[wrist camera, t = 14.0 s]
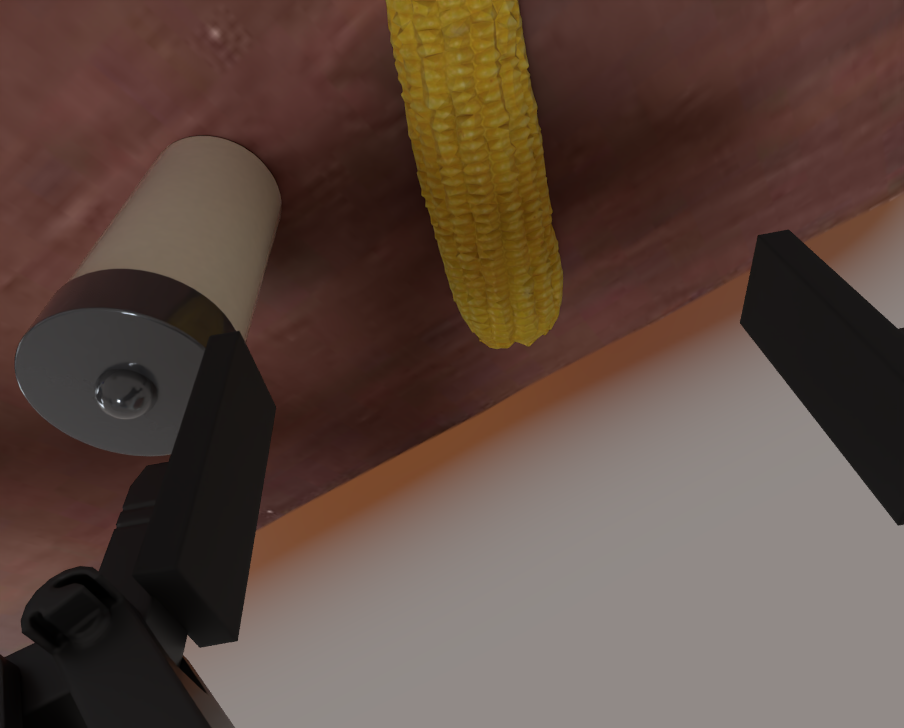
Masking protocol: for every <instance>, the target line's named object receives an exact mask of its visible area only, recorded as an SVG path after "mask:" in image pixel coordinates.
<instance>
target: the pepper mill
mask: <svg viewBox="0 0 904 728" xmlns="http://www.w3.org/2000/svg"><path fill="white" fill-rule="evenodd" d="M280 216H281V196H280V192H279V189H278V186H277V184H276V181H275V179H274V177H273V176H272V174H271V172H270V171H269V170H268V168H267V167H266V166H265V165H264V164H263V163H262V161H261V160H260V159H259V158H257V157H256V156H255V155H254V154H253V153H251V152H250V151H248V150H247V149H245V148H244V147H242V146H240V145H238V144H236V143H234V142H231V141H229V140H226V139H222V138H218V137H212V136H194V137H188V138H184V139H181V140H179V141H176V142H174V143H173V144H171V145H169V146H168V147H167V148H166V149H165V150H163V151H162V152H161V154H160V155H159V156H158V157H157V159H156V160H155V162H154V163H153V164H152V166H151V167H150V168H149V170H148V171H147V173H146V174H145V175H144V177H143V178H142V180H141V181H140V182H139V184H138V185H137V186H136V188H135V189H134V191H133V192H132V193H131V195H130V196H129V198H128V199H127V200H126V202H125V203H124V204H123V206H122V207H121V209H120V210H119V211H118V213H117V214H116V215H115V217H114V218H113V220H112V221H111V222H110V224H109V225H108V227H107V228H106V229H105V231H104V232H103V233H102V235H101V236H100V238H99V239H98V240H97V242H96V243H95V245H94V246H93V247H92V249H91V250H90V251H89V253H88V254H87V256H86V257H85V258H84V260H83V261H82V263H81V264H80V265H79V267H78V268H77V269H76V271H75V272H74V274H73V275H72V276H71V278H70V279H69V281H68V282H67V283H66V284H65V285H63V286H62V287H61V288H60V289H59V290H57V292H56V293H55V294H54V295H53V297H52V298H51V299H50V300H49V302H48V303H47V305H46V306H45V307H44V309H43V310H42V311H41V313H40V314H39V315H38V317H37V318H36V320H35V321H34V322H33V324H32V325H31V326H30V328H29V329H28V330H27V332H26V333H25V335H24V336H23V337H22V339H21V341H20V343H19V345H18V347H17V350H16V354H15V373H16V379H17V381H18V384H19V387H20V389H21V391H22V393H23V394H24V396H25V398H26V399H27V401H28V402H29V403H30V405H31V406H32V407H33V408H34V409H35V410H36V411H37V412H38V413H39V414H40V415H41V416H42V417H43V418H44V419H45V420H46V421H48V422H49V423H50V424H51V425H53V426H54V427H56V428H57V429H59V430H60V431H62V432H64V433H65V434H67V435H69V436H71V437H72V438H75V439H77V440H79V441H81V442H83V443H86V444H88V445H91V446H94V447H96V448H100V449H103V450H107V451H111V452H115V453H120V454H127V455H135V456H162V455H170V454H171V453H172V450H173V447H174V444H175V441H176V438H177V435H178V432H179V429H180V425H181V422H182V419H183V416H184V413H185V410H186V407H187V404H188V401H189V398H190V395H191V392H192V389H193V386H194V382H195V379H196V376H197V373H198V370H199V367H200V364H201V361H202V358H203V355H204V352H205V349H206V346H207V343H208V339H209V336H212V335H218V334H223V333H229V332H234V331H240V333H241V335H242V337H243V339H244V341H245V343H246V341H247V337H248V334H249V330H250V326H251V323H252V319H253V315H254V312H255V308H256V304H257V301H258V297H259V293H260V290H261V286H262V282H263V279H264V275H265V272H266V268H267V264H268V261H269V257H270V253H271V250H272V246H273V242H274V239H275V235H276V231H277V228H278V224H279V220H280Z"/></svg>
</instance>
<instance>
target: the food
mask: <svg viewBox="0 0 904 728" xmlns="http://www.w3.org/2000/svg"><path fill="white" fill-rule="evenodd" d="M385 1H386V4H387V17H388V28H389V31H390V32H391V36H390V42H391V44H392V47H393V55H394V58H395V59H396V60H395V63H394V64H395V66H396V69H397V71H398V80H399V81H400V83H401V85H402V89H403V92H402V94H401V96H402V98H403V100H404V102H405V111H406V118H407V124H408V135H409V137H410V139H411V143H412V150H413V153H414V157H415V161H416V165H417V169H418V172H417V176H418V179H419V183H420V186H421V195H422V196H423V197H424V198H425V207H427V208H428V211H429V214H430V217H431V224H432V225H433V228H434V232H435V239H436V240H437V243H438V247H439V251H440V254H441V257H442V260H443V263H444V268H445V273H446V275H447V278H448V281H449V286H450V289H451V291H452V293H453V300H454V301H455V302H456V304H457V306H458V309H459V311H460V313H461V316H462V317H463V319H464V320H465V321H466V323H467V324H468V326H469V328H470V329H471V331H472V332H475V334H476V335H477V336H478V337H479V341H481V342H483V343H484V344H486V345H487V346H489V347H490V348H494V349H499V348H509V347H510V346H511V345H512V344H513V343H514V342H519V343H521V344H524V345H526V346H530V345H531V344H533V343H534V342H535V341H536V340H537V339H538V338H539V337H540V336H541V335H546V334H547V332H548V331H549V330H551V328H552V327H553V325H554V323H555V321H556V320H557V318H558V316H559V309H560V305H561V300H562V289H563V270H562V268H561V260H560V255H559V253H558V249H559V248H558V241H557V239H556V236H555V232H554V229H553V227H552V224H551V222H552V217H551V214H552V213H553V211H552V208H551V204H550V199H549V193H548V192H549V189H548V185H547V177H546V170H545V163H544V156H543V153H544V150H543V147H542V142H543V140H542V135H541V133H540V131H541V129H540V127H539V125H538V118H537V108H538V107H537V104H536V101H535V98H534V95H533V91H532V87H531V81H530V78H529V77H530V74H529V72H528V70H527V68H528V67H529V64H528V60H527V55H526V47H525V43H524V40H525V39H524V37H523V30H522V19H521V16H520V12H519V4H518V0H385Z"/></svg>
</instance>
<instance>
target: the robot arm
mask: <svg viewBox="0 0 904 728" xmlns="http://www.w3.org/2000/svg"><path fill="white" fill-rule="evenodd" d="M740 324H741V325H742V326H743V328H744V329H745V330H746V331H747V333H748V334H749V335H750V337H751V338H752V339H753V340H754V342H755V343H756V344H757V346H758V347H759V348H760V349H761V351H762V352H763V353H764V355H765V356H766V357H767V358H768V360H769V361H770V362H771V363H772V365H773V366H774V367H775V369H776V370H777V371H778V372H779V374H780V375H781V376H782V377H783V379H784V380H785V381H786V383H787V384H788V385H789V386H790V388H791V389H792V390H793V392H794V393H795V394H796V395H797V397H798V398H799V399H800V401H801V402H802V403H803V405H804V406H805V407H806V408H807V410H808V411H809V412H810V413H811V415H812V416H813V417H814V418H815V420H816V421H817V422H818V424H819V425H820V426H821V428H822V429H823V430H824V431H825V432H826V434H827V435H828V436H829V438H830V439H831V440H832V442H833V443H834V444H835V445H836V447H837V448H838V449H839V451H840V452H841V453H842V454H843V456H844V457H845V458H846V460H847V461H848V462H849V463H850V464H851V466H852V467H853V469H854V470H855V471H856V472H857V473H858V475H859V476H860V477H861V479H862V480H863V481H864V483H865V484H866V485H867V486H868V488H869V489H870V490H871V491H872V493H873V494H874V495H875V497H876V498H877V499H878V501H879V502H880V503H881V504H882V506H883V507H884V508H885V509H886V511H887V512H888V513H889V515H890V516H891V517H892V518H893V520H894V521H895V522H896V523H897V525H903V524H904V328H900V329H897V328H896V327H895V326H894V325H893V324H892V323H891V322H890V321H889V320H888V319H886V318H885V317H884V316H883V315H882V314H881V313H880V312H879V311H878V310H877V309H875V308H874V307H873V306H872V305H871V304H870V303H869V302H868V301H867V300H865V299H864V298H863V297H862V296H861V295H860V294H859V293H858V292H857V291H856V290H854V289H853V288H852V287H851V286H850V285H849V284H848V283H847V282H846V281H845V280H844V279H842V278H841V277H840V276H839V275H838V274H837V273H836V272H835V271H834V270H833V269H831V268H830V267H829V266H828V265H827V264H826V263H825V262H824V261H823V260H822V259H820V258H819V257H818V256H817V255H816V254H815V253H814V252H813V251H812V250H810V249H809V248H808V247H807V246H806V245H805V244H804V243H803V242H802V241H801V240H800V239H798V238H797V237H796V236H795V235H794V234H793V233H792V232H791V231H790V230H784V231H778V232H773V233H768V234H762V235H758V238H757V242H756V247H755V252H754V257H753V262H752V267H751V271H750V276H749V282H748V286H747V291H746V296H745V301H744V305H743V310H742V315H741V320H740ZM275 411H276V406H275V404H274V402H273V399H272V397H271V395H270V393H269V391H268V389H267V387H266V385H265V383H264V381H263V379H262V376H261V374H260V372H259V370H258V368H257V366H256V364H255V362H254V360H253V358H252V356H251V354H250V351H249V349H248V347H247V345H246V343H245V341H244V339H243V337H242V335H241V333H240V331H234V332H229V333H223V334H218V335H212V336H209V339H208V343H207V346H206V349H205V352H204V355H203V358H202V361H201V364H200V367H199V370H198V373H197V376H196V379H195V382H194V386H193V389H192V392H191V395H190V398H189V401H188V404H187V407H186V410H185V413H184V416H183V419H182V422H181V425H180V429H179V432H178V435H177V438H176V441H175V444H174V447H173V450H172V453H171V456H170V459H169V462H165V463H159V464H154V465H148V466H146V467H145V468H144V470H143V471H142V472H141V474H140V475H139V476H138V477H137V479H136V480H135V481H134V482H133V484H132V485H131V486H130V489H129V491H128V494H127V497H126V499H125V502H124V505H123V511H122V512H121V513H120V516H119V518H118V521H117V524H116V526H117V529H114V532H113V534H112V537H111V540H110V542H109V545H108V548H107V550H106V553H105V556H104V558H103V561H102V564H101V566H100V569H99V572H98V571H97V570H96V569H94V568H93V567H84V566H79V567H75V568H72V569H68V570H65V571H63V572H61V573H60V574H58V575H56V576H54V577H53V578H51V579H49V580H48V581H47V582H46V583H45V584H44V585H43V586H42V587H40V588H39V589H38V590H37V591H36V592H35V594H34V595H33V596H32V598H31V599H30V601H29V602H28V603H27V605H26V607H25V609H24V612H23V615H22V618H21V627H22V633H23V634H24V635H26V636H27V637H28V638H30V639H31V640H32V641H34V642H35V643H34V644H32V645H29V646H27V647H25V648H23V649H21V650H19V651H17V652H15V653H12V654H10V655H8V656H6V657H3V656H2V655H0V728H235V727H234V726H233V724H232V723H231V721H230V720H229V719H228V717H227V715H226V714H225V713H224V711H223V710H222V708H221V707H220V705H219V704H218V702H217V701H216V700H215V698H214V697H213V695H212V694H211V692H210V691H209V689H208V688H207V687H206V685H205V684H204V682H203V681H202V679H201V678H200V677H199V675H198V674H197V672H196V671H195V669H194V668H193V667H192V665H191V664H190V662H189V661H188V660H187V659H186V658H185V657H184V656H183V652H184V648H185V642H186V639H187V635H188V636H189V637H190V638H191V639H192V640H193V641H194V642H195V643H196V644H197V645H198V646H199V647H200V648H201V647H206V646H212V645H217V644H223V643H228V642H235V641H238V635H239V629H240V623H241V617H242V611H243V605H244V599H245V593H246V587H247V581H248V575H249V569H250V562H251V557H252V550H253V544H254V538H255V532H256V526H257V520H258V514H259V508H260V502H261V496H262V490H263V484H264V478H265V472H266V466H267V460H268V454H269V448H270V442H271V435H272V429H273V423H274V417H275Z"/></svg>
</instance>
